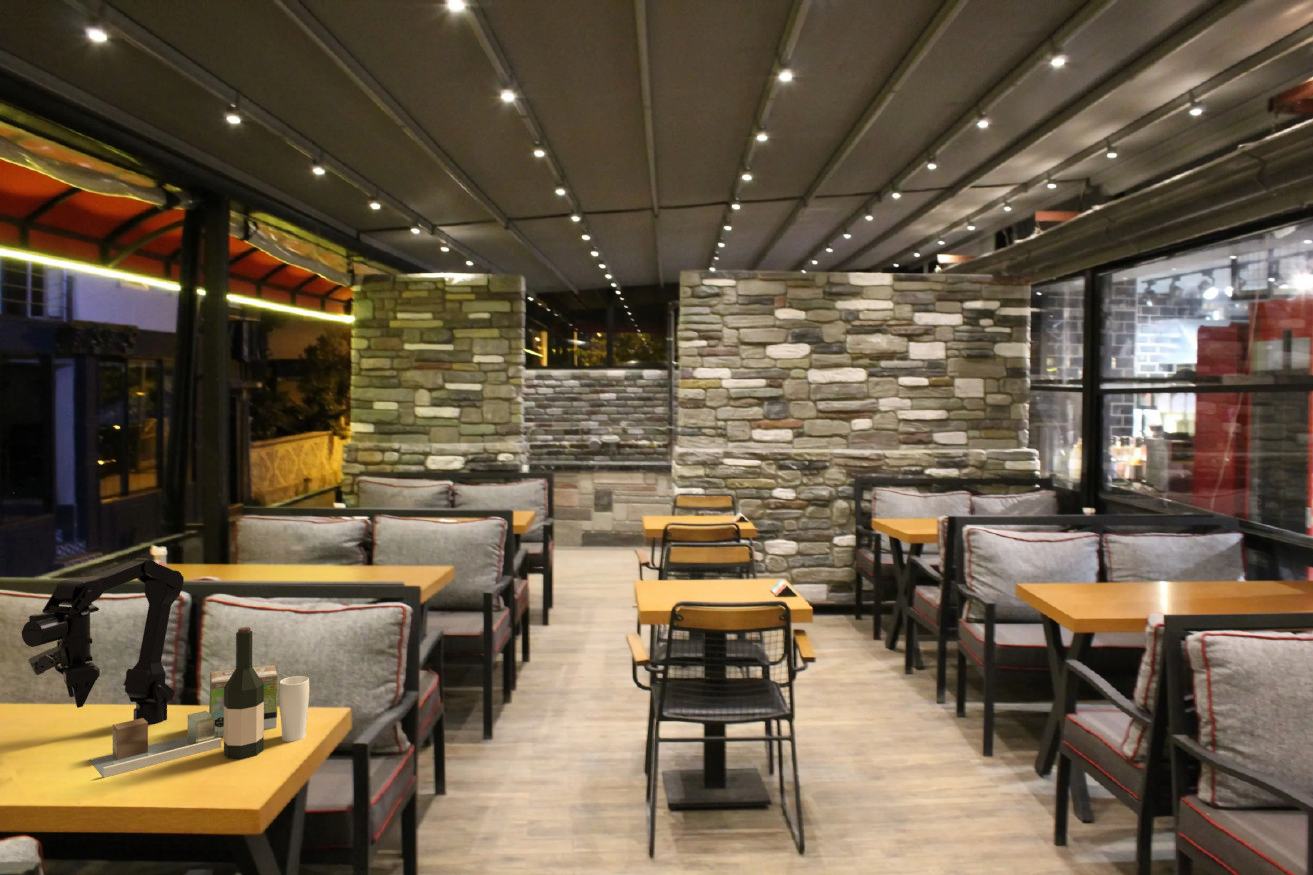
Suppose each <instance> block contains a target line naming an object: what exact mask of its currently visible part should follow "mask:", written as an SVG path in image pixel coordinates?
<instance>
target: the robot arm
mask: <svg viewBox="0 0 1313 875" xmlns="http://www.w3.org/2000/svg"><path fill="white" fill-rule="evenodd" d="M136 579H137V580H138V581H139V582H141V583H142V584H144V595H145V598H146V600H147V603H148V609H147V614H146V618H145V623H144V624H145V625H144V630H143V634H142V640H141V641H142V642H141V645H140V652H139V656H138V661H137V663H135V665H134V666H133V667H132V668H127V670H126V672H125V680H124V682H123V686H125V687H124V691H125V693H126V694H127V695H128V698H129V701H130V703H135V708H134V709H133V720H136V719H141V718H143V719H145V720H146V721H147V722H148V726H153V725H156V724H160V723H162V722H165V721H167V720H168V703H169V701H172V700H173V698H174V695H175V690H174V689H173V688H172V687H170V686H169V685H168V684H167V683H166V671H165V668H164V666H163V664H162V658H163V652H164V649H165V648H164V647H165V643H166V642H165V641H166V636H167V632H168V627H169V626H168V625H169V621H170V615H171V608H172V605H173V604H174V603H175V601H176V600H177V599H178V598H179V597H180V595H181V592H182V589H183V586H184V580H185V577H184V575H183V574H182V573H181V572H180V571H179V570H173V569H171V568H169V567H167V566H165V565H162V564H160V563H157V562H156V561H155V560H153V559H151V558H141V557H139V558H137V557H136V558H134V559H132V560H130V561H128V562H125V563H123V564H120V565H118V566H115V567H113V568H110V569H107V570H104V571H101V572H99V573H97V574H94V575H91V576H85V577H84V576H82V577H74V578H70V579H69V578H68V579H63V580H61V581H59V582H58V583H57V584H56V587H55V589H54V591H53V593H52V595H51V596H50V598H49V599H48V601H47V603H46V604H45V606H44V607H43V609H42V611H41V612H42V613H38V614H36V613H35V614H31V615H29V617H28V618H29V620H28V621H27V622H26V623H25V624H24V625H23V627H22V630H21V638H22V641H23V642H24V644H26V645H27V646H28V647H31V648H34V647H39V646H42V645H46V644H49V643H53V642H56V646H55V647H53V648H50V649H47V650H44V651H42V652H41V653H38V654H37V655H34V656H31V657H29V659H27V660H28V663H29V665H30V667H31V668H32V671H33V673H34V674H35V676H39V675H41V674H44V673H45V672H46V671H48V670H51V669H55V671H57V672H58V673H59V674H61V675H62V677H63V682H64V683H65V686H66V690H67V693H68V696H69V697H70V698H73V697H74V700H75V701H74V702H75V706H76V707H77V709H78V708H83V707H84V706H85V704H86V701H87V699H88V697H89V695H90V693H91V690H92V689H93V687H94V684H96V682H97V680H98V678H99V677H100V675H101V674H100V668H99V666H98V665H97V664H95V663H94V662H93V660H94V659H93V655H92V654H91V653H92V652H91V645H92V644H93V638H92V637H91V614H92V613H96V612H99V611H100V608H99V607H98V606H96V605H94V604H93V603H94V602H95V601H97V600H99V599H100V598H101V596H102V595H103V594H104V593H106V592H107V591H109V590H112V589H114V588H117V587H120V586H122V585H124V584H127V583H129V582H131V581H134V580H136Z"/></svg>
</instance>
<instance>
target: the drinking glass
mask: <svg viewBox="0 0 1313 875" xmlns="http://www.w3.org/2000/svg"><path fill="white" fill-rule="evenodd" d="M278 684H279V685H278V686H279V687H278V702H279V712H280V714H279V715H280V725H281V740H282V741H283V742H286V743H287V742H296V741H297V742H298V741H301V740H304V739H305V738H306V737H307V724H308V723H307V722H308V713H309V712H308V711H309V702H310V678H309V677H307V676H304V675H303V676H301V675H300V676H299V675H297V676H296V675H295V676H290V677H286V678H283V679H281V680H280V681H278Z"/></svg>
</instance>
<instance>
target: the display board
mask: <svg viewBox="0 0 1313 875" xmlns="http://www.w3.org/2000/svg"><path fill="white" fill-rule="evenodd" d="M187 740H188V735H185V736H181V737H177V738H176V737H175V738H173V739H168V740H164V741H161V742H157V743H153V744H148V753H144V754H140V755H136V756H132V757H128V758H124V759H120V760H117V759H116V758H115V757H114V756H113V753H112V754H109V755H105V756H100V757H96V758H91V759H89V760H88V761H89V762H90V763H91V764H92V766H93V767H94V768H95V769H96V771H98V773H99V774H100V775H101V776H102V778H104V779H106V778H109V777H114V776H117V775H121V774H124V773H128V772H133V771H136V770H140V769H143V768H149V767H151V766H154V765H156V766H157V765H159V764H162V763H167V762H170V761H175V760H178V759H182V758H185V757H190V756H193V755H197V754H200V753H205V752H208V751H213V750H215V749H216V750H217V749H220V748H222V738H221V737H216V738H215V739H213V740H209V741H205V742H201V743H197V744H193V745H190V744H189V743H188V744H187Z"/></svg>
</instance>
